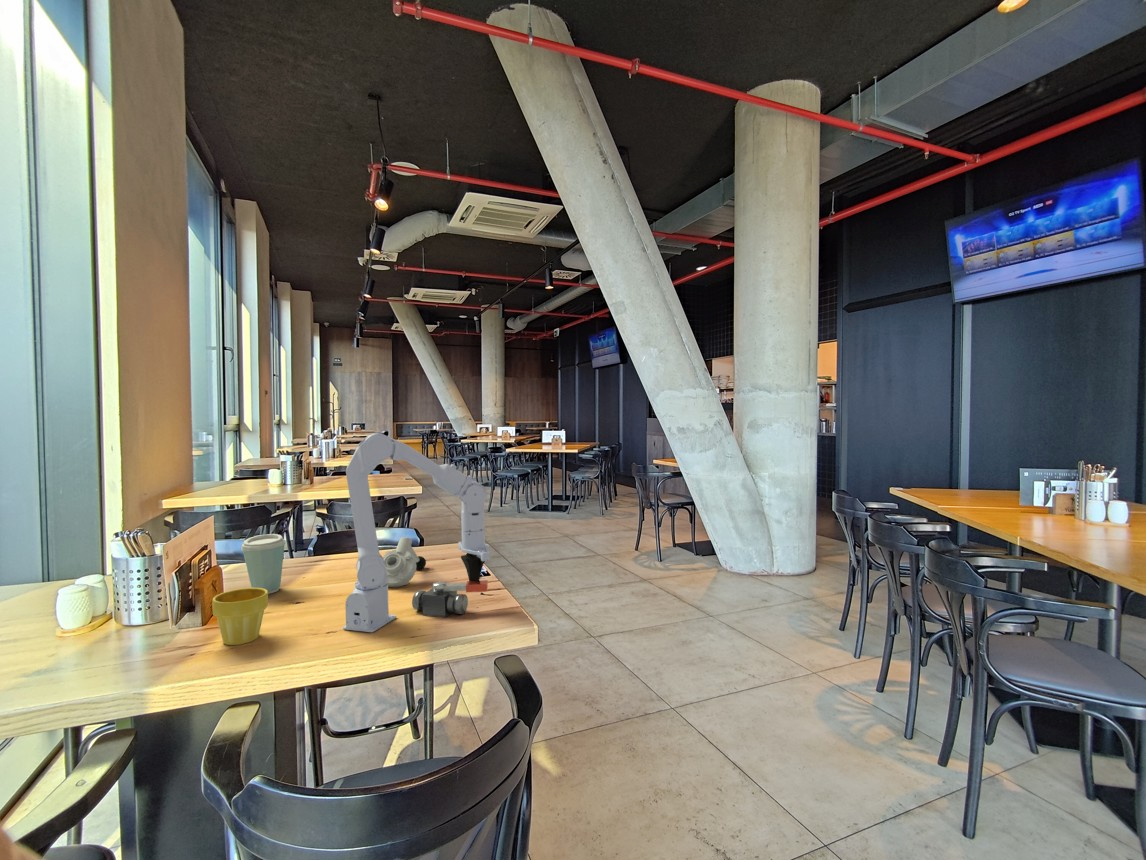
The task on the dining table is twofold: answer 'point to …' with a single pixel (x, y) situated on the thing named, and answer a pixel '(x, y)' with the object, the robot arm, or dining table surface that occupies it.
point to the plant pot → (240, 614)
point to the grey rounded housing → (402, 563)
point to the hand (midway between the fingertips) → (474, 583)
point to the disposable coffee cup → (264, 561)
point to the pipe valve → (439, 602)
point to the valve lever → (461, 586)
